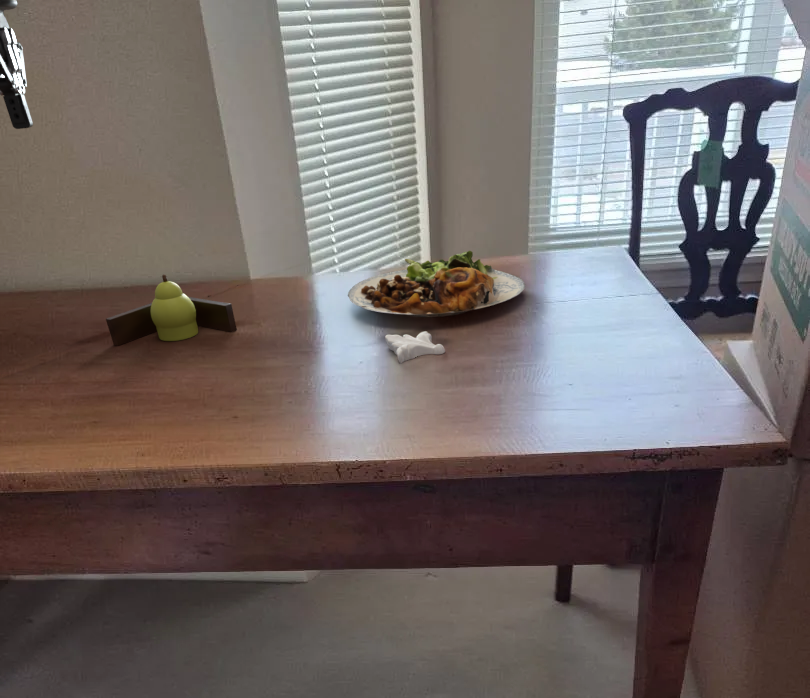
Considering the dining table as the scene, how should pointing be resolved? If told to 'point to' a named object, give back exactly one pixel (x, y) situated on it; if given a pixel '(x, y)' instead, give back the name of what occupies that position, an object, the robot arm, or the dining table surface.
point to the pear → (173, 312)
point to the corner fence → (142, 324)
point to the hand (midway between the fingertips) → (23, 127)
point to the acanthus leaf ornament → (413, 346)
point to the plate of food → (436, 288)
